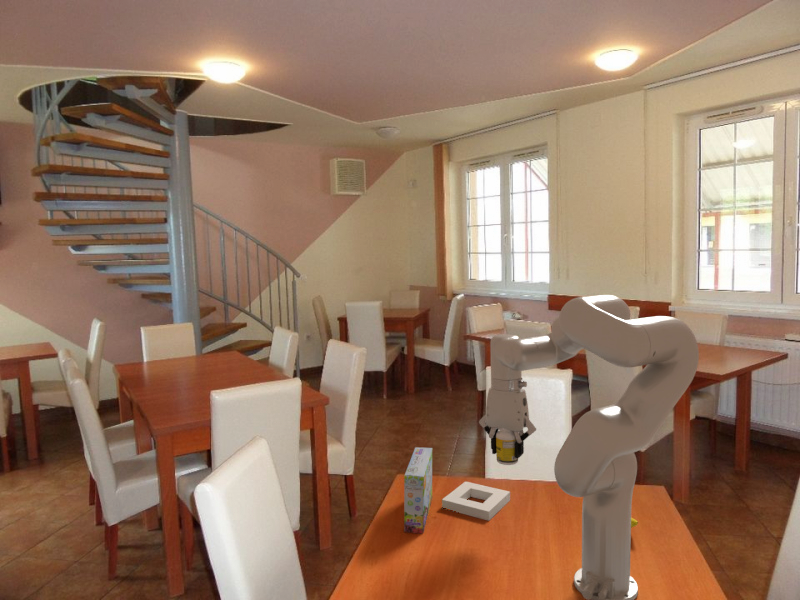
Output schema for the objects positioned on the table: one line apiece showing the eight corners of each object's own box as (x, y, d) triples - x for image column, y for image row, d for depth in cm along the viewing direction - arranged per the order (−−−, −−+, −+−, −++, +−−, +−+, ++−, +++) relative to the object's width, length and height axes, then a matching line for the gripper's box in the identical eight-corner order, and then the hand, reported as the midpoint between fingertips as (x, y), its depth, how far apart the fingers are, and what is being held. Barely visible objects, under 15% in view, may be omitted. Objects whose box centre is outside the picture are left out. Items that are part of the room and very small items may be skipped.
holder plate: (489, 520, 151) (488, 511, 151) (442, 508, 158) (442, 499, 158) (510, 500, 162) (510, 491, 162) (465, 489, 170) (465, 481, 170)
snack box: (425, 534, 145) (424, 476, 143) (403, 533, 146) (402, 475, 144) (433, 497, 166) (433, 446, 164) (414, 496, 166) (413, 445, 165)
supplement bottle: (495, 457, 149) (495, 420, 148) (517, 457, 148) (516, 420, 148) (497, 465, 144) (496, 427, 143) (519, 465, 143) (518, 427, 142)
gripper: (544, 384, 143) (545, 455, 144) (481, 377, 152) (482, 444, 154) (533, 391, 136) (534, 465, 138) (468, 383, 146) (469, 453, 148)
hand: (507, 453), depth 146 cm, fingers closed on supplement bottle, 5 cm apart
